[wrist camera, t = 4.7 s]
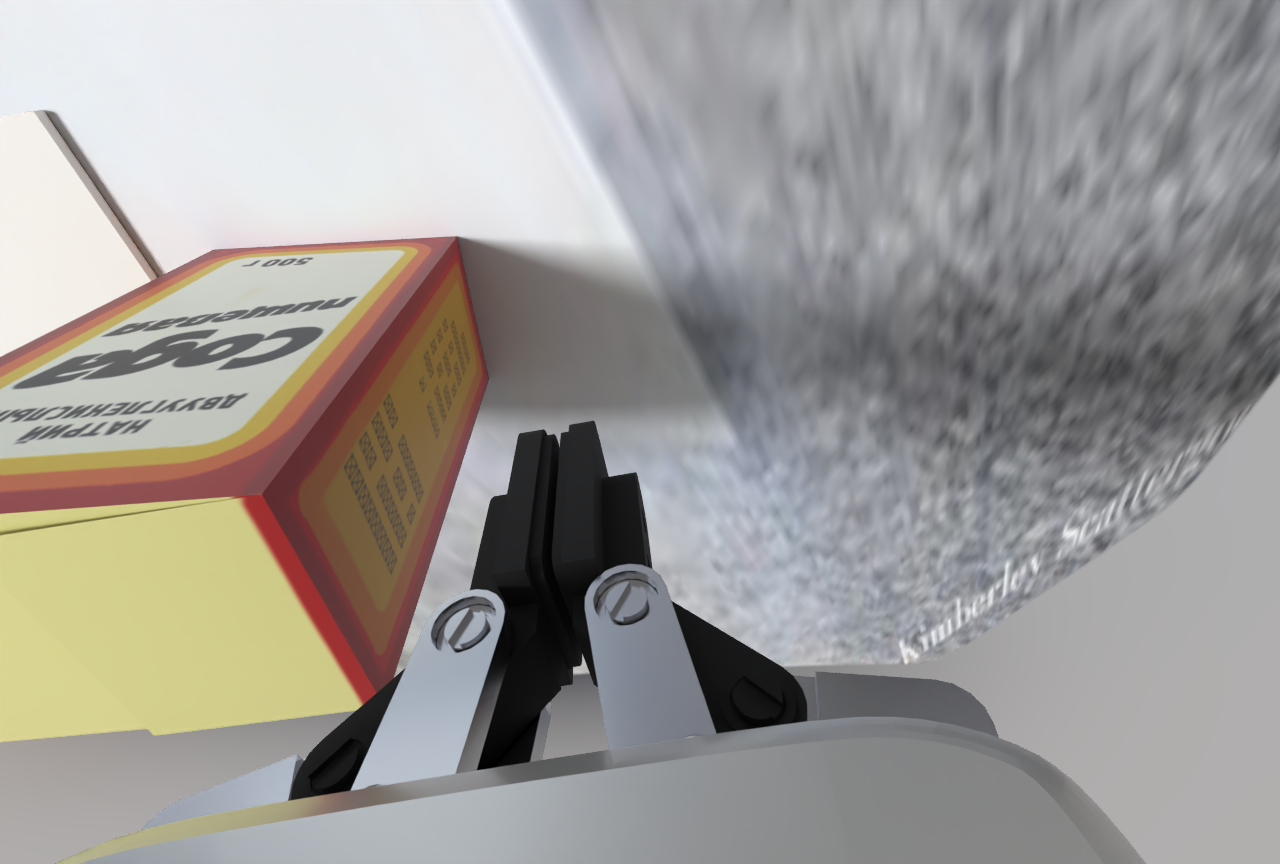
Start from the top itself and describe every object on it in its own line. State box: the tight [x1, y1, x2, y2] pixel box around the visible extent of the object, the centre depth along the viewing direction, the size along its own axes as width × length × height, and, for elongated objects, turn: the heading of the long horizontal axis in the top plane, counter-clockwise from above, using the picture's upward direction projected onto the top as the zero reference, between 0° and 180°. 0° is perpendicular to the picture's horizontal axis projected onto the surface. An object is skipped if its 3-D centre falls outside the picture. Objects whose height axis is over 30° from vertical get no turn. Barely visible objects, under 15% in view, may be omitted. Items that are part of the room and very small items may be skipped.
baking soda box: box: [0, 236, 489, 742], centre depth 17 cm, size 10×6×16 cm
